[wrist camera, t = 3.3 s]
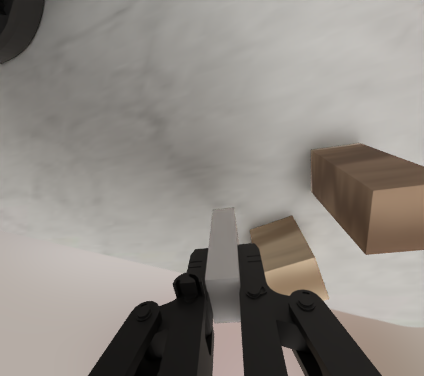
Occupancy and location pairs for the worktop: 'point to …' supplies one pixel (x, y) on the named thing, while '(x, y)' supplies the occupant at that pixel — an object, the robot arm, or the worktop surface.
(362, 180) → the walnut block
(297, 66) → the worktop surface
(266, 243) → the oak block
